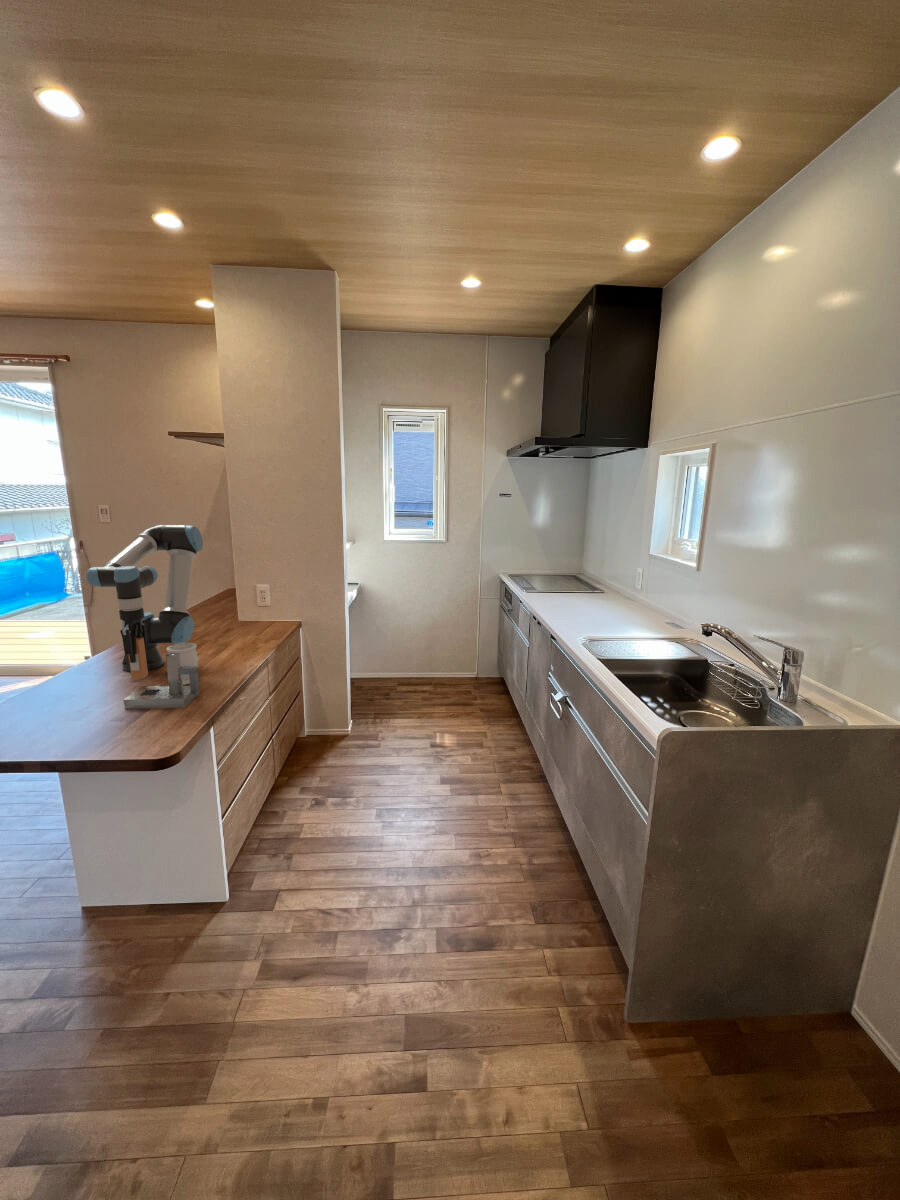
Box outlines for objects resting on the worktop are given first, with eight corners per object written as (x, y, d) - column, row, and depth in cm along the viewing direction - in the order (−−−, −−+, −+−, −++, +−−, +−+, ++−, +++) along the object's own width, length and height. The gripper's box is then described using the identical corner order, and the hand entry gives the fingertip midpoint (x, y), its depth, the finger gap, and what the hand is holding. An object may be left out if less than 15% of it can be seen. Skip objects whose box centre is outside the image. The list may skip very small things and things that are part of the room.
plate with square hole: (142, 694, 180) (137, 649, 176) (204, 694, 182) (201, 649, 179) (124, 708, 168) (118, 660, 164) (191, 707, 171) (187, 660, 167)
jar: (194, 674, 201) (191, 641, 198) (203, 682, 194) (200, 647, 190) (166, 681, 193) (163, 645, 190) (174, 688, 186) (170, 652, 183)
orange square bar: (137, 674, 184) (132, 637, 180) (148, 674, 184) (143, 637, 180) (131, 678, 180) (126, 641, 176) (142, 678, 180) (138, 641, 177)
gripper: (132, 602, 183) (139, 659, 189) (106, 614, 167) (115, 676, 172) (153, 602, 184) (160, 659, 190) (129, 614, 168) (137, 676, 173)
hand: (138, 667), depth 181 cm, fingers closed on orange square bar, 4 cm apart
